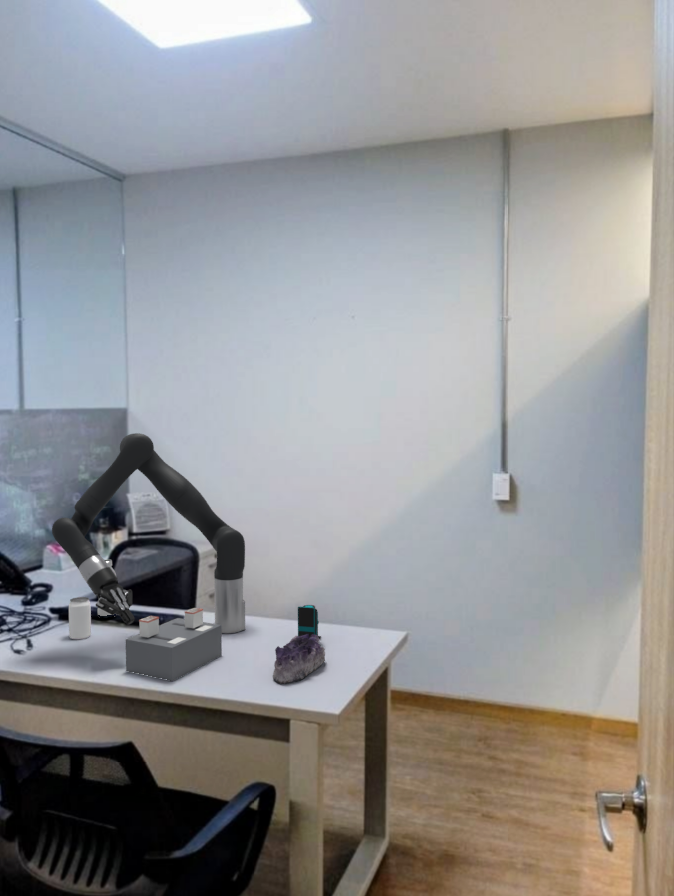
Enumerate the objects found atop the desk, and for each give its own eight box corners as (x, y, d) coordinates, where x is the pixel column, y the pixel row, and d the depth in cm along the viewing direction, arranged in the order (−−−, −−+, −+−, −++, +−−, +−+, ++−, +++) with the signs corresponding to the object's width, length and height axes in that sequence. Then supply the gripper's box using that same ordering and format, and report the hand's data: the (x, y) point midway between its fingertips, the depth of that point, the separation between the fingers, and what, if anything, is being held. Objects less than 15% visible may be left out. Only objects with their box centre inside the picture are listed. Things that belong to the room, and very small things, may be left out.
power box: (126, 671, 191) (125, 638, 191) (178, 647, 211) (177, 617, 211) (172, 681, 184) (171, 647, 184) (221, 655, 204) (221, 624, 204)
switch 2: (184, 627, 200) (184, 611, 200) (194, 622, 204) (194, 607, 204) (193, 628, 199) (193, 612, 199) (203, 624, 203) (203, 608, 203)
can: (83, 640, 218) (83, 602, 217) (65, 639, 219) (64, 601, 218) (95, 634, 224) (94, 597, 223) (76, 632, 225) (76, 596, 225)
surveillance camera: (324, 599, 220) (314, 608, 210) (324, 637, 220) (314, 647, 211) (307, 598, 221) (297, 606, 212) (307, 635, 222) (297, 646, 212)
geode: (305, 688, 180) (299, 650, 179) (264, 688, 184) (259, 651, 184) (333, 659, 199) (328, 625, 198) (296, 659, 203) (291, 626, 203)
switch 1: (139, 636, 192) (139, 619, 192) (150, 631, 196) (150, 615, 196) (148, 637, 191) (147, 621, 191) (159, 633, 195) (158, 617, 195)
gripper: (87, 571, 194) (121, 620, 189) (121, 562, 206) (154, 608, 201) (73, 588, 197) (107, 637, 192) (108, 578, 208) (140, 624, 204)
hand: (131, 622), depth 196 cm, fingers closed
